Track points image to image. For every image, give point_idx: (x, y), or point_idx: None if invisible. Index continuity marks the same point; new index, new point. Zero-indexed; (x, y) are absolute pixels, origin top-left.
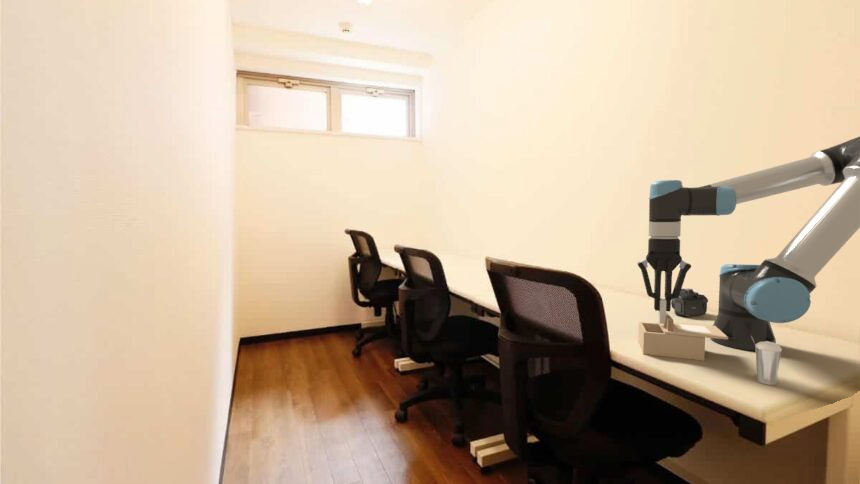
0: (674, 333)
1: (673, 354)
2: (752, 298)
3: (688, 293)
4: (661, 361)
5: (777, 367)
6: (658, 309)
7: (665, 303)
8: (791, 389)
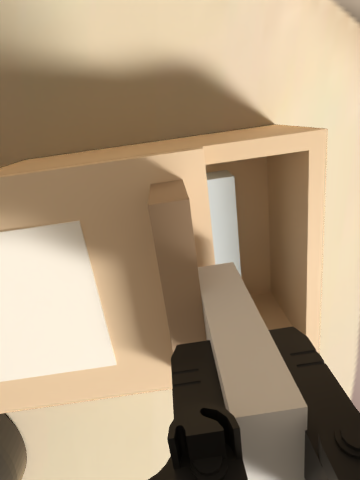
0: (141, 156)
1: (148, 143)
2: None
3: None
4: (201, 44)
5: None
6: (274, 337)
7: (232, 384)
8: None
